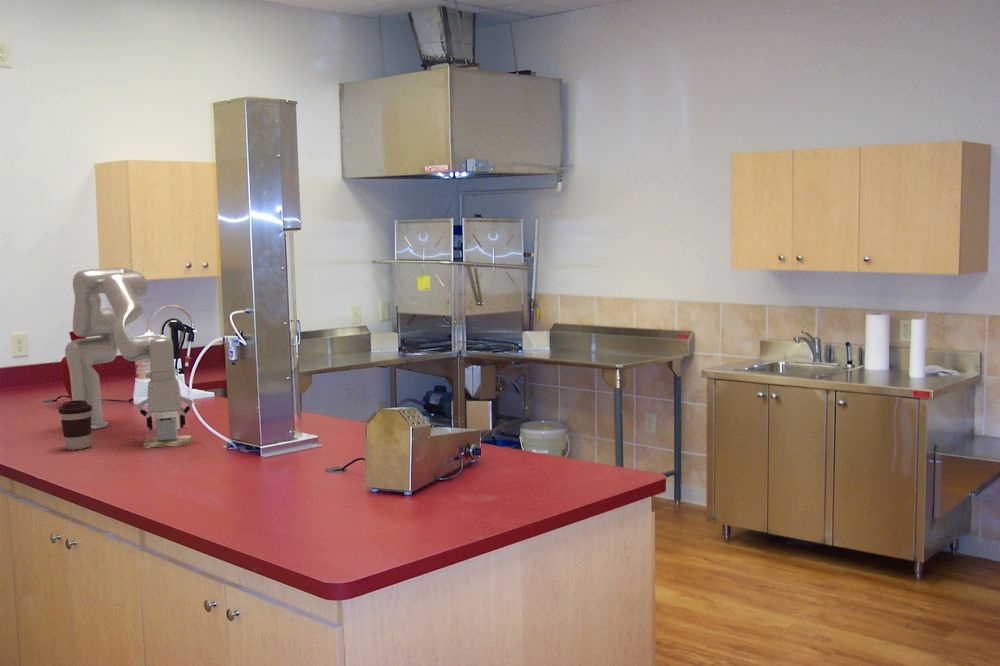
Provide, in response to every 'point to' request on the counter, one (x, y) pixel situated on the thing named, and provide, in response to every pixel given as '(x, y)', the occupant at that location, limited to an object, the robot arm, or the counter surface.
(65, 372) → the vase
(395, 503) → the counter surface
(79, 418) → the coffee cup
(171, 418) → the gray rounded cube
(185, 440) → the shaft stand
